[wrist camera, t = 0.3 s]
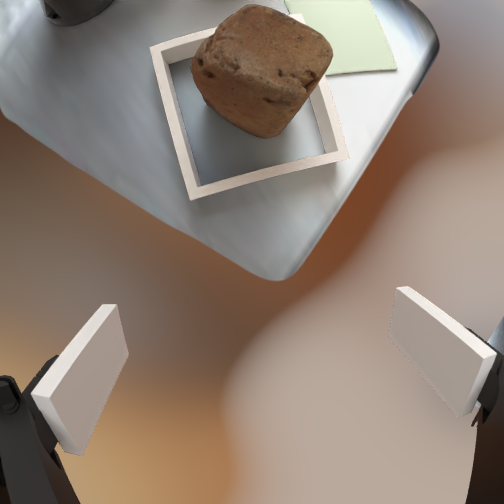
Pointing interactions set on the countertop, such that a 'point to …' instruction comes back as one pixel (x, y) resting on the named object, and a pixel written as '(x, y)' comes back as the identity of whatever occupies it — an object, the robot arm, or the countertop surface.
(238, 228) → the countertop surface
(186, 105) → the countertop surface
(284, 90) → the brown rough stone
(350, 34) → the mat
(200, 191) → the holder
